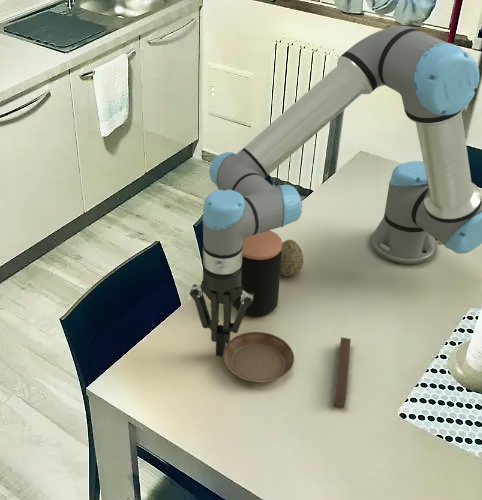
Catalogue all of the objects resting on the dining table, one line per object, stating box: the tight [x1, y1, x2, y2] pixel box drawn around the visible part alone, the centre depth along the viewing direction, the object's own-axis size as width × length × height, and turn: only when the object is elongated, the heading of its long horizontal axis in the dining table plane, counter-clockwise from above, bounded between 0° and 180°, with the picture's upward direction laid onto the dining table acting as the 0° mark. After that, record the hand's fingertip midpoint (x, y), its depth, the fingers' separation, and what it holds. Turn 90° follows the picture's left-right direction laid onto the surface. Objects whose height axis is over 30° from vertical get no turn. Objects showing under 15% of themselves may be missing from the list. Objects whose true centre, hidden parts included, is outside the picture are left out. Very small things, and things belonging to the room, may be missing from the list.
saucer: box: [223, 331, 295, 384], centre depth 152 cm, size 15×15×3 cm
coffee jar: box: [232, 230, 283, 318], centre depth 163 cm, size 11×11×18 cm
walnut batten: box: [333, 336, 352, 409], centre depth 148 cm, size 2×17×3 cm, turn 164°
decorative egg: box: [280, 239, 305, 277], centre depth 174 cm, size 7×7×10 cm
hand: (220, 351), depth 154 cm, fingers closed
